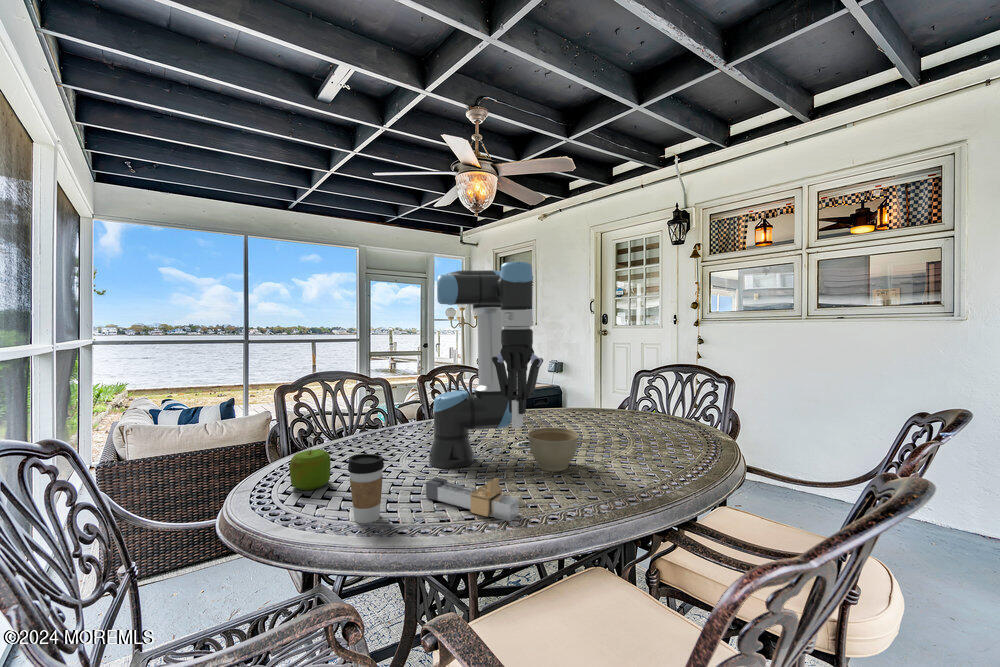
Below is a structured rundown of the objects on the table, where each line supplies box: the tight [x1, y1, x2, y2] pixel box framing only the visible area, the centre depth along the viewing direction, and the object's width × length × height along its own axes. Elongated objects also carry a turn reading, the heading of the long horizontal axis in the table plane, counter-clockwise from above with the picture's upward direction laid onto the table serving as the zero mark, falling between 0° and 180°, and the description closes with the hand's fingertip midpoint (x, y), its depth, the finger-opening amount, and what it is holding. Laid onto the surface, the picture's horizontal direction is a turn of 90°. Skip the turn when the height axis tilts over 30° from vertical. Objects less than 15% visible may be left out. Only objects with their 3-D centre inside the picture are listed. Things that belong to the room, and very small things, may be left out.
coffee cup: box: [347, 453, 385, 524], centre depth 107 cm, size 8×8×15 cm
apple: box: [288, 448, 332, 491], centre depth 128 cm, size 11×11×11 cm
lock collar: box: [470, 477, 503, 518], centre depth 111 cm, size 5×7×8 cm
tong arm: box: [431, 476, 478, 492], centre depth 117 cm, size 17×2×4 cm, turn 59°
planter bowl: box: [527, 427, 579, 472], centre depth 143 cm, size 16×16×11 cm
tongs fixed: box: [425, 479, 520, 522], centre depth 114 cm, size 26×4×5 cm, turn 59°
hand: (517, 426), depth 106 cm, fingers closed
